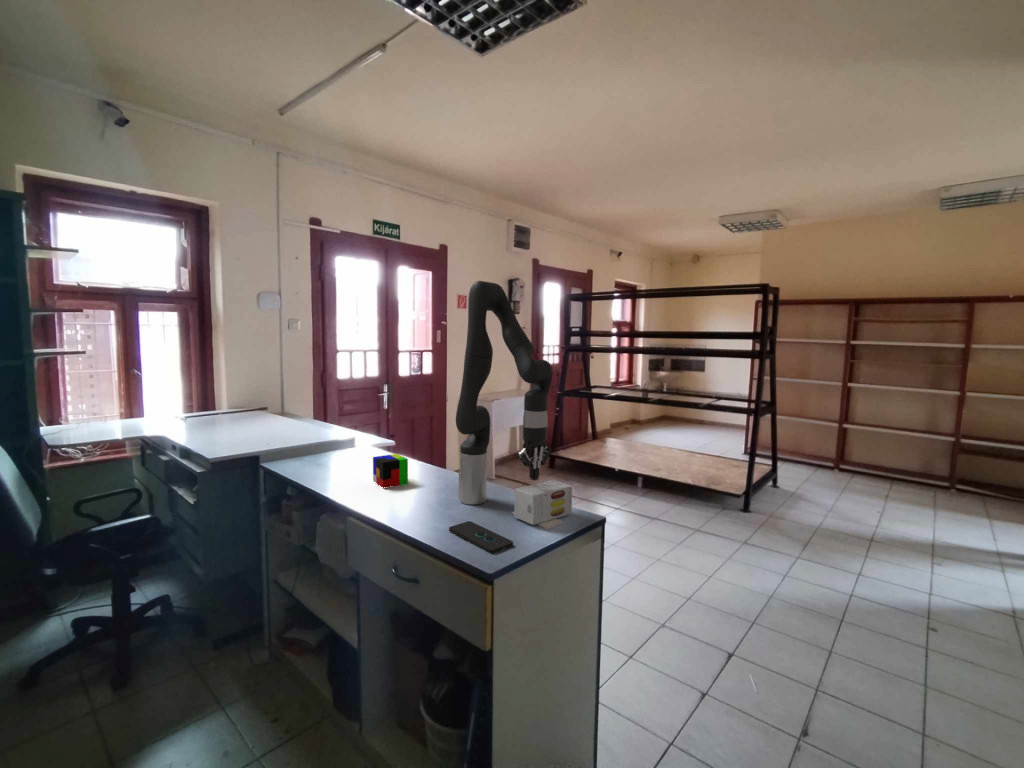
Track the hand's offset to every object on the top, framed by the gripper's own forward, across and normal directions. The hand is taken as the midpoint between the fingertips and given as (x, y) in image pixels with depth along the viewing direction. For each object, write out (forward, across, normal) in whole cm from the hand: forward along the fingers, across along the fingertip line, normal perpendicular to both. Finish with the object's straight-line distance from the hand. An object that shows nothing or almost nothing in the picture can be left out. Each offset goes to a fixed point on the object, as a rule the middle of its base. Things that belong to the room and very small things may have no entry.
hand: (534, 479), depth 147 cm
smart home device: (+14, +21, +1) cm, 25 cm away
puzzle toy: (+13, +19, -62) cm, 66 cm away
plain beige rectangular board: (+13, -2, 0) cm, 13 cm away
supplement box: (+8, +5, 0) cm, 9 cm away
